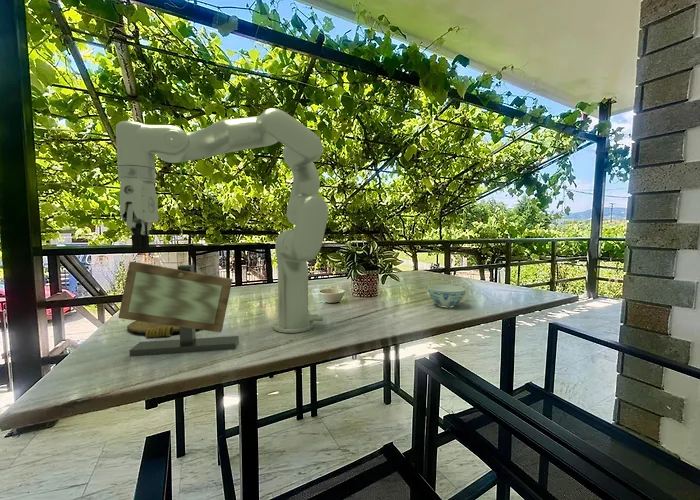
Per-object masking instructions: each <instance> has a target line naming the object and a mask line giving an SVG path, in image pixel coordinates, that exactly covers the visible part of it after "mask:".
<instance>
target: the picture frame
mask: <svg viewBox="0 0 700 500" xmlns="http://www.w3.org/2000/svg"><path fill="white" fill-rule="evenodd" d="M232 283H233V278H230V277H229V278H228V277H223V276H216V275H212V274H206V273H200V272H196V271H194V272H190V271H184V270H178V268H172V267H166V266H161V265H155V264H149V263H144V262H143V263H142V262H138V261H129V262H128V268H127V273H126V278H125V282H124V288H123V291H122V292H123V294H122V298H121V303H120V307H119V313H118V317H117V318H118V319H122V320H128V321H142V322H149V323H156V324H164V325H171V326H178V327H185V328H192V329H195V330H200V331H206V332H207V331H208V332H214V333H222V332H223V327H224V324H225V323H224V322H225V318H226V312H227V306H228V303H229V299H230V294H231V287H232Z"/></svg>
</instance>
